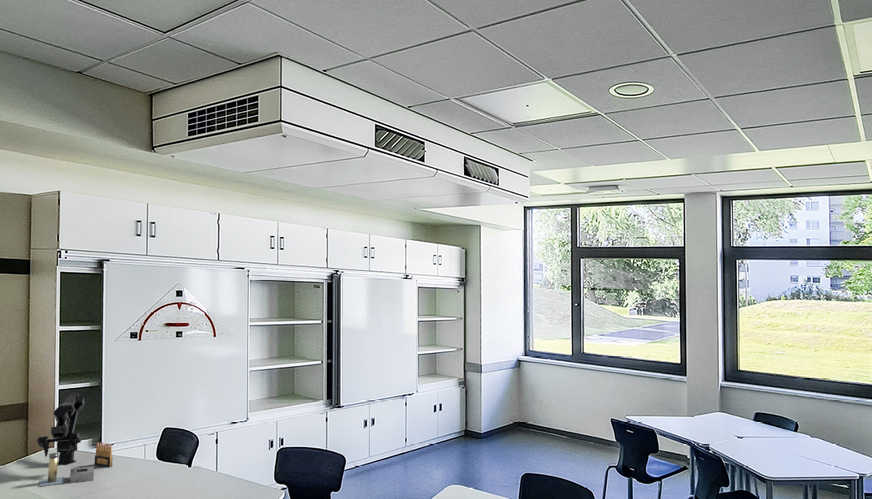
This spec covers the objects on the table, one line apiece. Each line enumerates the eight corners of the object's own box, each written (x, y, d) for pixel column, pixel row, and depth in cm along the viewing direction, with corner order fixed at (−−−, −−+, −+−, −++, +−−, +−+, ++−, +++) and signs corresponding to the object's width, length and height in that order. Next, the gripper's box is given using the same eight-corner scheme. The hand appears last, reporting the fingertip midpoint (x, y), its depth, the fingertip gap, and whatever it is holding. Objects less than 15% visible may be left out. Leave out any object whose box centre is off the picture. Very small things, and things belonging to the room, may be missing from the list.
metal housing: (70, 477, 313) (70, 468, 313) (93, 474, 318) (93, 466, 318) (69, 483, 304) (70, 474, 304) (93, 480, 309) (93, 471, 309)
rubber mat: (40, 480, 307) (40, 479, 307) (64, 477, 312) (64, 476, 312) (38, 486, 298) (39, 486, 298) (63, 483, 303) (63, 482, 303)
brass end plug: (54, 479, 308) (56, 452, 308) (57, 481, 305) (59, 454, 306) (46, 481, 305) (48, 454, 306) (49, 483, 302) (50, 455, 303)
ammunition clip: (112, 466, 331) (113, 443, 331) (109, 467, 329) (110, 444, 330) (97, 464, 335) (98, 441, 335) (94, 465, 333) (95, 442, 333)
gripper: (37, 421, 316) (30, 450, 305) (78, 417, 321) (73, 445, 310) (43, 432, 323) (36, 460, 313) (83, 428, 328) (78, 455, 318)
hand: (56, 455), depth 313 cm, fingers open, 9 cm apart
